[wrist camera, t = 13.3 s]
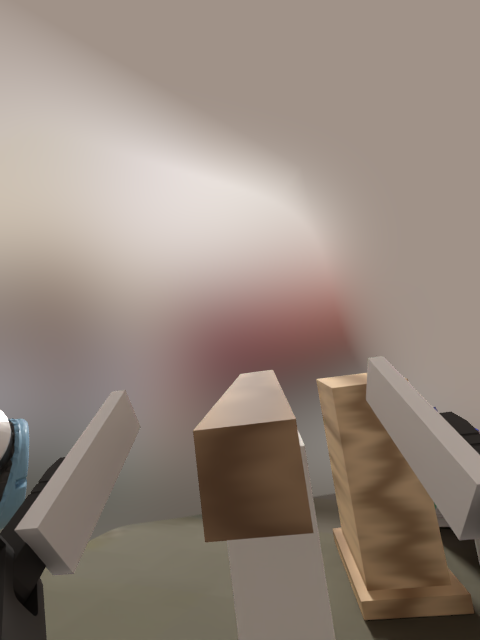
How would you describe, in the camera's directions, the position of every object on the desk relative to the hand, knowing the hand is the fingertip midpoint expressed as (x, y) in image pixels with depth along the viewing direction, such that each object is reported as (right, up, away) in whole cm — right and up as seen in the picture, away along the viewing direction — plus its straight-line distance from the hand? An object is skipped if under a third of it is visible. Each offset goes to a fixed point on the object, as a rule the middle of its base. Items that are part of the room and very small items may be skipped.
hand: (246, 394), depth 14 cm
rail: (+1, -5, +6) cm, 8 cm away
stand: (+17, -24, +15) cm, 33 cm away
